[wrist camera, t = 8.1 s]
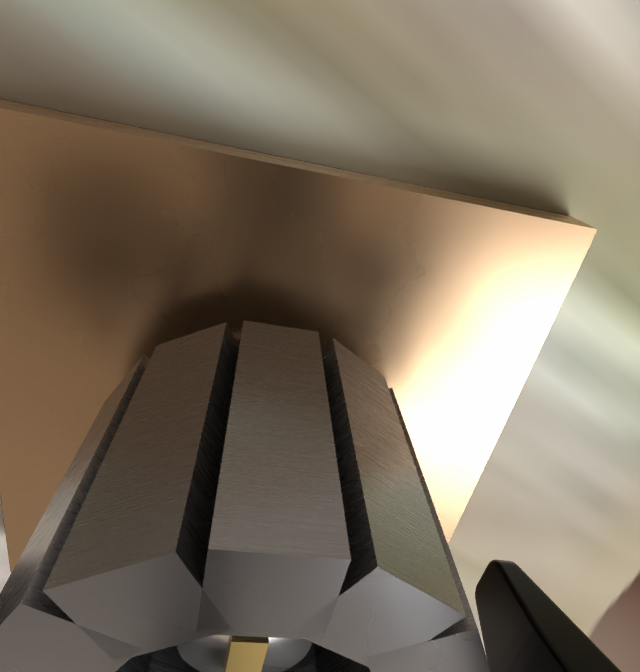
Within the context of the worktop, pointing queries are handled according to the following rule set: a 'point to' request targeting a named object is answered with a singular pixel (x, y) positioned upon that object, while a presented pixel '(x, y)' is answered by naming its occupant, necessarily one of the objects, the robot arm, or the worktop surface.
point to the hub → (242, 521)
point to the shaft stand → (254, 297)
